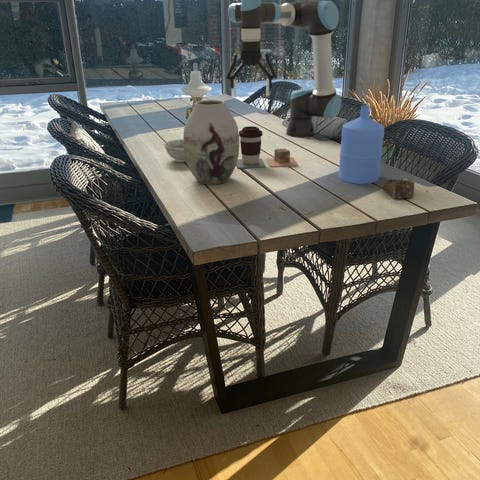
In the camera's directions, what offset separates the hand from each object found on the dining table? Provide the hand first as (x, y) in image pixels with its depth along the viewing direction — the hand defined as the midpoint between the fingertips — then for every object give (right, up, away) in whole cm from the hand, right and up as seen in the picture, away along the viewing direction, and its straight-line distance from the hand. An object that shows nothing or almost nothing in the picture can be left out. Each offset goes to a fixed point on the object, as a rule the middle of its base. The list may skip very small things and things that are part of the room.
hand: (251, 96), depth 200 cm
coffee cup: (0, -26, +11) cm, 28 cm away
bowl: (-30, -23, +19) cm, 42 cm away
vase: (-15, -35, -7) cm, 39 cm away
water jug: (+42, -35, -8) cm, 55 cm away
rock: (+52, -46, -28) cm, 75 cm away
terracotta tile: (+14, -26, +12) cm, 31 cm away
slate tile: (0, -26, +11) cm, 29 cm away
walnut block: (+14, -25, +12) cm, 31 cm away
